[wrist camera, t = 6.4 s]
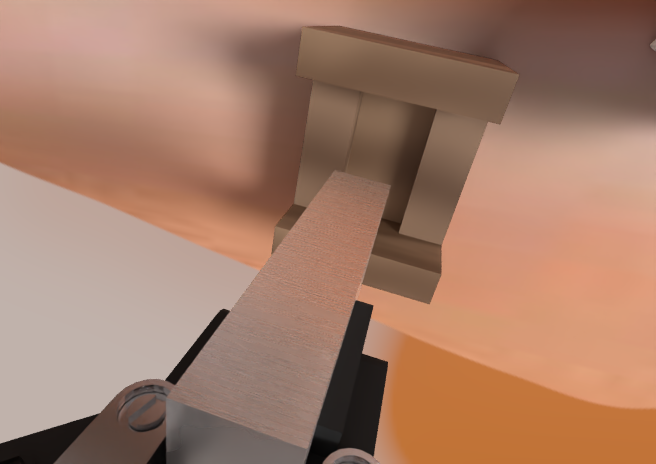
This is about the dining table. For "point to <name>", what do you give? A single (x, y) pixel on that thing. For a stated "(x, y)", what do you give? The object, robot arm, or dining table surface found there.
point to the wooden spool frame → (396, 139)
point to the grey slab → (279, 339)
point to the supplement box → (653, 45)
